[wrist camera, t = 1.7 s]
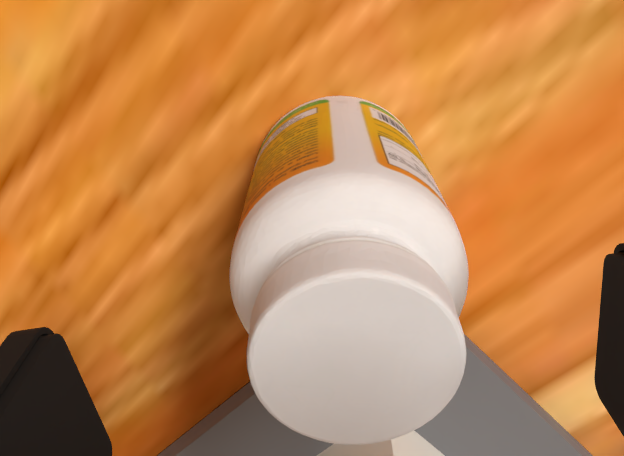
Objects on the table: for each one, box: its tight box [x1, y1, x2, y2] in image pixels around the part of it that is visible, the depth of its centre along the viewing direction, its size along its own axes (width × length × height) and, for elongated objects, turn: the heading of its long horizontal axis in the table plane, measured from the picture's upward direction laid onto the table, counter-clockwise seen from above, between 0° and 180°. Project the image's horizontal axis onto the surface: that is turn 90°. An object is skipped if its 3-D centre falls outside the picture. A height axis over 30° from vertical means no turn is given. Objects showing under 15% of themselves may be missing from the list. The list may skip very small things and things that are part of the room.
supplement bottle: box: [230, 96, 468, 445], centre depth 15 cm, size 5×5×10 cm
